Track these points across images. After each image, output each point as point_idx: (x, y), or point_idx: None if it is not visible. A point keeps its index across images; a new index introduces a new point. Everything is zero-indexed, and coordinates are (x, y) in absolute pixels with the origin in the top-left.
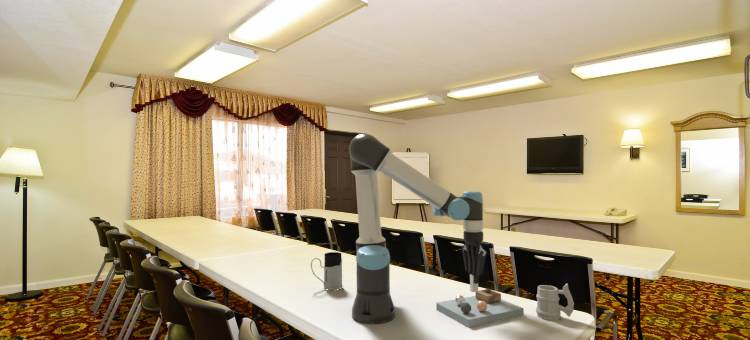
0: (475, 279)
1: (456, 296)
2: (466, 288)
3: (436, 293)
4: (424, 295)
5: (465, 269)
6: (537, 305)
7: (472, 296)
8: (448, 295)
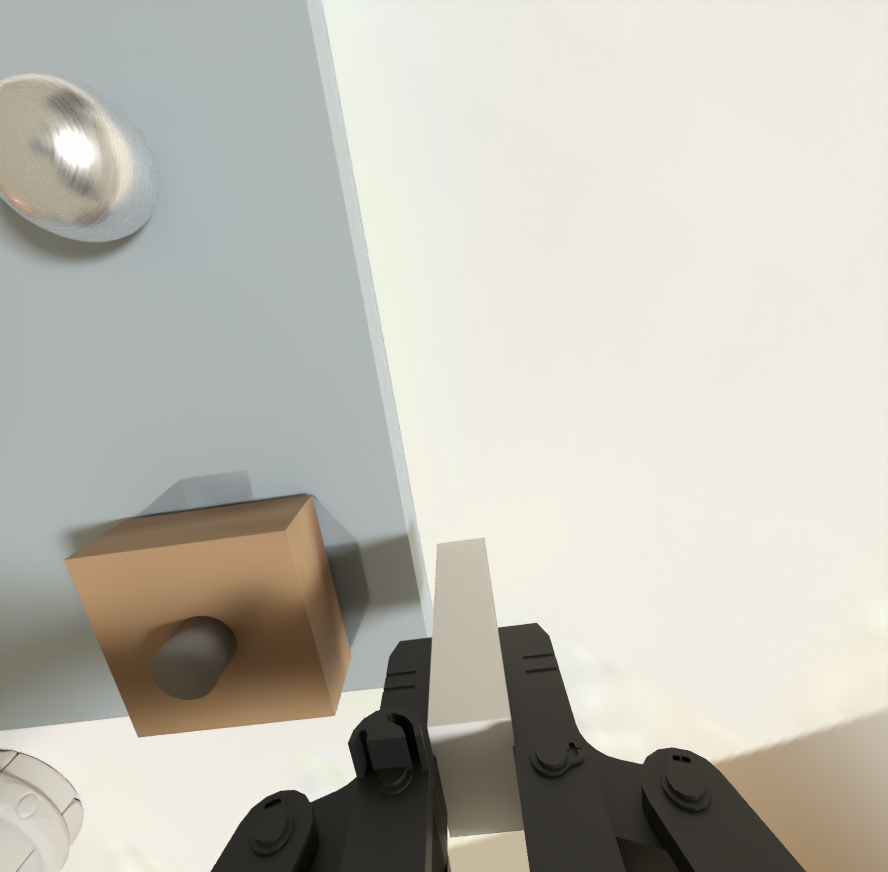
0: (391, 694)
1: (50, 93)
2: (818, 643)
3: (848, 255)
4: (865, 48)
5: (716, 779)
6: None
7: (399, 500)
8: (715, 360)
